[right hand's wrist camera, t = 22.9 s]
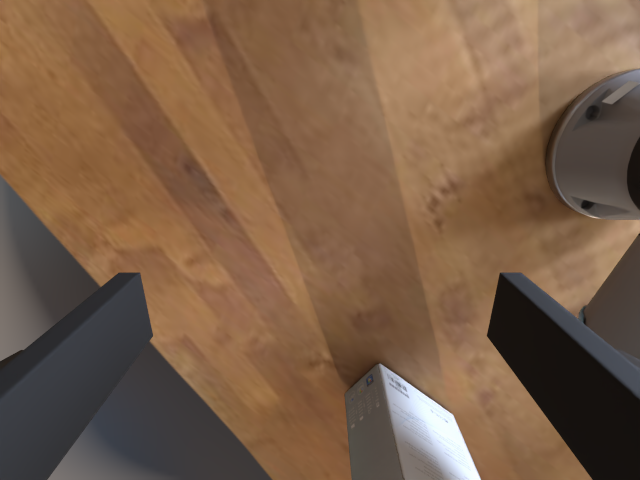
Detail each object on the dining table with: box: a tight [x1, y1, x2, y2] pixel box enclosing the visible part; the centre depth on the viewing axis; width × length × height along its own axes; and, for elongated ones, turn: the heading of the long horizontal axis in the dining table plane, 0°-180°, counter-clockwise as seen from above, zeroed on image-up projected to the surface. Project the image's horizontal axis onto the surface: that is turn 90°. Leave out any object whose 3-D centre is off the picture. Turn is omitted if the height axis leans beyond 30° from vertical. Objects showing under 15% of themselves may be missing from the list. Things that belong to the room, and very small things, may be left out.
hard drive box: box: [345, 364, 481, 480], centre depth 41 cm, size 16×8×20 cm, turn 51°
